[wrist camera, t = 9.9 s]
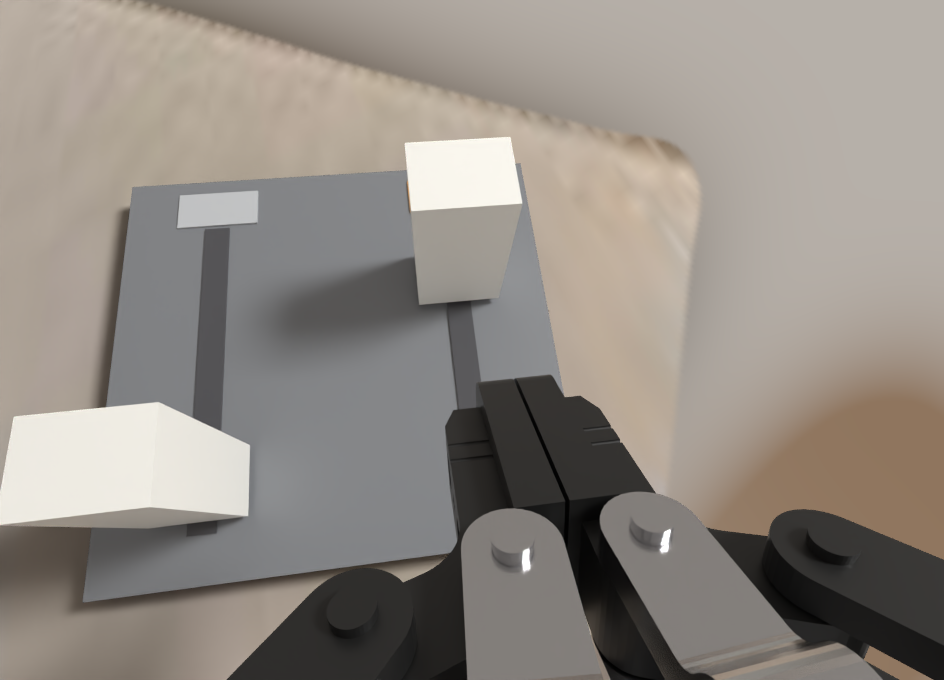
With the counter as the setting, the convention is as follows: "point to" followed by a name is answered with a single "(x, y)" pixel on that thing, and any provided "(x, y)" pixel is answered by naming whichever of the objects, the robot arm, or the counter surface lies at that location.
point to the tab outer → (462, 216)
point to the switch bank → (305, 371)
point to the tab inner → (121, 470)
